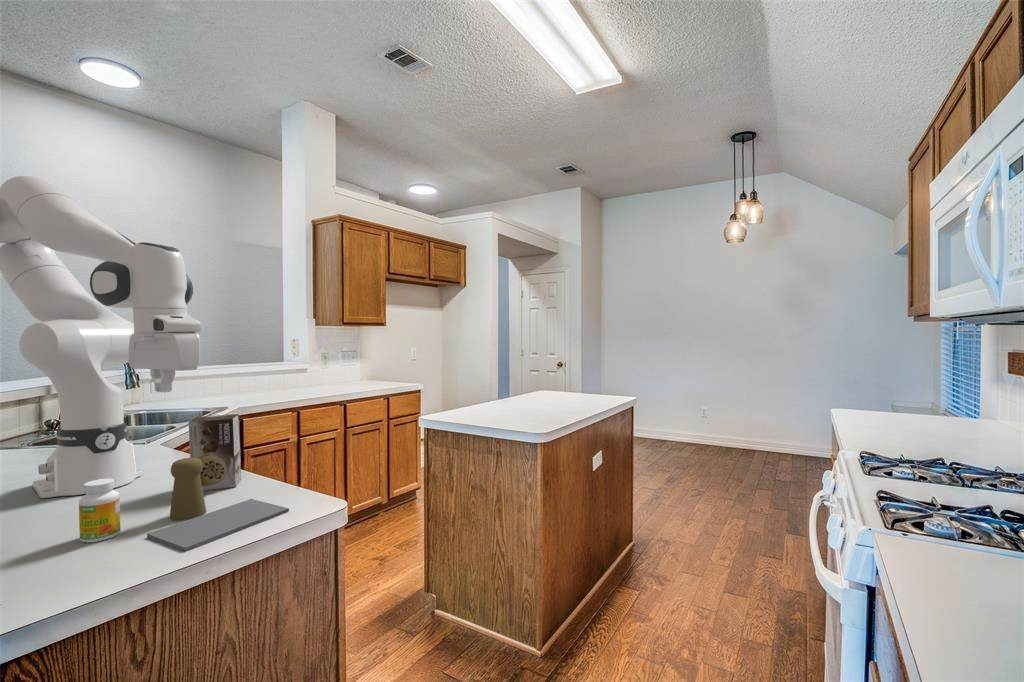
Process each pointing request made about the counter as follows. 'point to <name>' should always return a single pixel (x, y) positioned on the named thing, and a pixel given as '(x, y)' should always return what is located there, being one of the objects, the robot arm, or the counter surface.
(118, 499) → the supplement bottle
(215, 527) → the rubber mat
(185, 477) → the cork
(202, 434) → the coffee box
